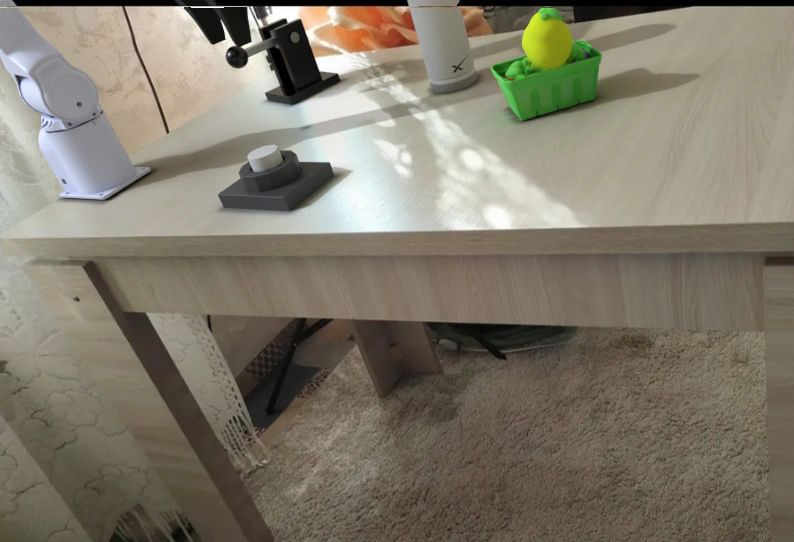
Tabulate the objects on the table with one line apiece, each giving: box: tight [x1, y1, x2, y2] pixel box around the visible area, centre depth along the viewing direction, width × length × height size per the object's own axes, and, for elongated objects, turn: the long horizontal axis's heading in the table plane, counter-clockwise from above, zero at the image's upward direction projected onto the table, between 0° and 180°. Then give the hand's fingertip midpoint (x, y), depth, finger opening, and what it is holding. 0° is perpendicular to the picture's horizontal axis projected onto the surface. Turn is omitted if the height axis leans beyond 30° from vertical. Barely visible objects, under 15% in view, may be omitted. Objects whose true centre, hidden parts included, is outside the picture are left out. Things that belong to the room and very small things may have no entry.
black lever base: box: [257, 17, 342, 106], centre depth 112 cm, size 9×7×10 cm
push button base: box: [217, 149, 335, 212], centre depth 85 cm, size 10×8×4 cm
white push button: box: [246, 144, 283, 172], centre depth 83 cm, size 3×3×2 cm
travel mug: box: [407, 0, 478, 94], centre depth 96 cm, size 6×7×20 cm
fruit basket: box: [490, 6, 603, 121], centre depth 85 cm, size 11×9×11 cm
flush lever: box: [225, 30, 279, 70], centre depth 109 cm, size 11×3×3 cm, turn 136°
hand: (231, 43), depth 106 cm, fingers open, 7 cm apart
